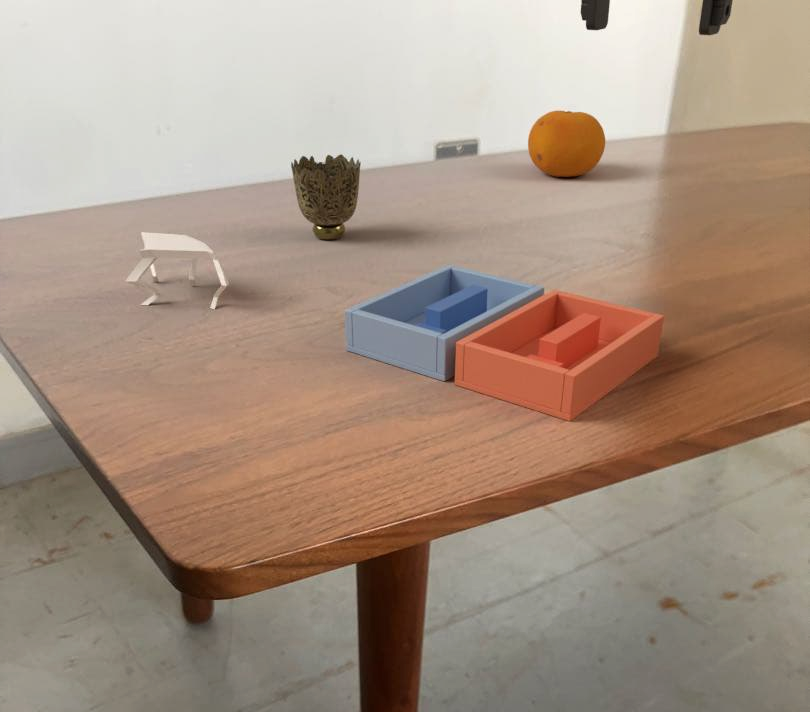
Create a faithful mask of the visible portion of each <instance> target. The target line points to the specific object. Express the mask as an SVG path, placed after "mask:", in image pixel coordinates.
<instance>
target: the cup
mask: <svg viewBox="0 0 810 712" xmlns="http://www.w3.org/2000/svg"><path fill="white" fill-rule="evenodd" d="M290 163H291V164H290V167H291V172H292V179H293V182H294V183H293V184H294V190H295V196H296V199H297V204H298V207H299V210H300V212H301V214H302V216H303V217H304V219H306V221H308V222H309V223H311V224H313V225H312V232H313V236H315V237H316V238H318V239H320V240H326V241H331V240H338V239H340V238H342V237H343V236H344V235H345V233H346V229H347V228H346V226H345V223H346V222H348V221H349V220H350V219H351V218H352V217H353V215H354V214H355V212H356V209H357V204H358V198H359V189H360V177H361V176H360V173H361V161H360V159H359V158H357V160H356V162H355V160H354V157H353V156H352V157H351V158H350V159H349V161H348V158H346V157H345V156H344V155H343V154H338V155H337V156H335V157H334V156H332V155H331V154H327V155H326V156H325V160H324V162H323V161H319V162H316V160H315V158H314V156H313V155H311V156H310V157H309V158H307V157H306V156H304V155H302V156H301V157H300V159H299V161H298V160H296V158H294V159H293V162H292V161H291V162H290Z"/></svg>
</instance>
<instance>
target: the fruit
mask: <svg viewBox="0 0 810 712" xmlns="http://www.w3.org/2000/svg"><path fill="white" fill-rule="evenodd" d="M527 148H528V154H529V157H530V159H531V161H532V163H533V165H534V166H535V167H536V168H538V170H540V171H541V172H543V173H544V174H546V175H549V176H552V177H557V178H570V177H571V178H572V177H578V176H582V175H585V174H587V173H589V172H590V171H591V170H593V169H594V168H595V167H596V166H597V165H598V164H599V162H600V161H601V159H602V157H603V155H604V152H605V148H606V135H605V131H604V129H603V127H602V125H601V123H600V122H599V120H598V119H597V118H595V117H594V116H593V115H591V114H590V113H587V112H583V111H570V110H568V111H565V110H552V111H549V112H546V113H545V114H543V115H542V116H540V117H539V118H537V120H536V121H535V122H534V123H533V125H532V126H531V129H530V130H529V134H528V139H527Z"/></svg>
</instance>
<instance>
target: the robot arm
mask: <svg viewBox="0 0 810 712" xmlns="http://www.w3.org/2000/svg"><path fill="white" fill-rule="evenodd" d="M610 4H611V0H581V2H580V16H581V20H582V21H585V29H586V30H587V31H601V30H605V29H606V28H607V26H608V24H609V15H610ZM732 6H733V0H702V3H701V11H700V18H699V24H698V34H699V35H700V36H713V35H717V34H719V32H720V29H721V27H722V26H723V25H726V24H727V23H728V21H729V19H730V18H731V13H732Z"/></svg>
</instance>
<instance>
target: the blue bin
mask: <svg viewBox="0 0 810 712" xmlns="http://www.w3.org/2000/svg"><path fill="white" fill-rule="evenodd" d="M471 285H475V286H479V287H483V288H487V289H488V293H487V312H485V313H483V314H481V315H479V316H477V317H475V318H473V319H471V320H469V321H467V322H466V323H464V324H462V325H460V326H458V327H456V328H454V329H452V330H450V331H448V332H446V333H444V334H442V333H439V332H435V331H432V330H428V329H425V328H421V327H418V326H414V324H416V323H418V322H419V323H423V324H425V308H426V307H428V306H430V305H432V304H434V303H436V302H438V301H440V300H442V299H444V298H446V297H448V296H451V295H453V294H455V293H457V292H459V291H461V290H463V289H465V288H467V287H469V286H471ZM543 295H545V287H544V286H541V285H536V284H532V283H529V282H524V281H519V280H516V279H512V278H508V277H503V276H499V275H494V274H491V273H487V272H482V271H477V270H474V269H470V268H465V267H460V266H457V265H452V264H447V265H445V266H442V267H440V268H437V269H436V270H435V269H434V270H433V271H431V272H429V273H426V274H424V275H422V276H419V277H417V278H415V279H413V280H411V281H408V282H405V283H403V284H400V285H399V286H397V287H394V288H392V289H389V290H387V291H385V292H383V293H380V294H378V295H376V296H374V297H371V298H369V299H367V300H364V301H362V302H360V303H358V304H354V305H353V306H351V307H348V308H346V309H345V310H344V327H345V328H344V329H345V351H347V352H351V353H353V354H357V355H360V356H363V357H367V358H369V359H372V360H375V361H377V362H378V361H379V362H382V363H385V364H388V365H391V366H394V367H398V368H401V369H404V370H407V371H410V372H414V373H417V374H420V375H423V376H426V377H430V378H433V379H435V380H439V381H442V382H447V381H448V380H451V379H452V378H454V377H455V361H456V342H457V341H459V340H461V339H463V338H465V337H467V336H469V335H470V334H472V333H474V332H476V331H478V330H480V329H482V328H483V327H485V326H487V325H489V324H491V323H493V322H495V321H496V320H498V319H500V318H502V317H504V316H506V315H508V314H510V313H511V312H513V311H515V310H517V309H519V308H521V307H523V306H524V305H526V304H528V303H530V302H532V301H534V300H536V299H537V298H539V297H541V296H543Z"/></svg>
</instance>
